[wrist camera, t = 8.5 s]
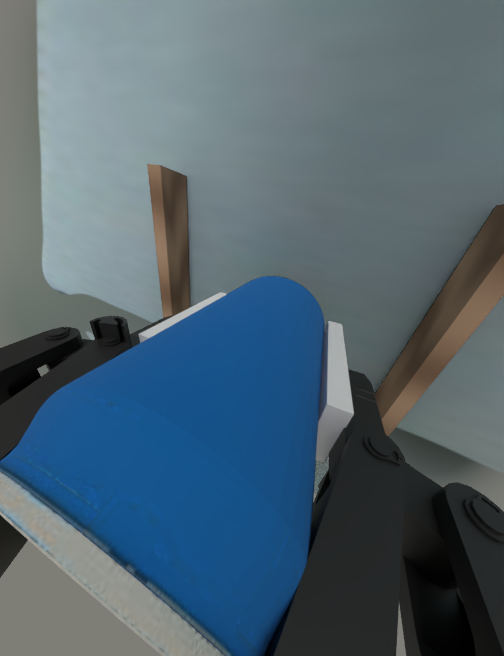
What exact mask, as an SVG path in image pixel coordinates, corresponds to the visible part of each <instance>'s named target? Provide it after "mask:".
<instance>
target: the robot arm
mask: <svg viewBox="0 0 504 656" xmlns="http://www.w3.org/2000/svg"><path fill="white" fill-rule="evenodd" d="M225 295H227V294H225V293H222V292H220V293H218V294H216V295H214V296H212V297H210V298H208V299H206V300H204V301H202V302H200V303H198V304H196V305H194V306H192V307H190V308H189V309H187V310H185V311H183V312H181V313H179V314H177V315H172V316H168V317H165V318H163V319H161V320H159V321H158V322H155V323H153V324H151V325H148V326H146V327H144V328H143V329H140V330H138V331H136V332H134V333H132V334H129V329H128V324H127V320H126V319H124V318H123V317H119V316H106V317H100V318H96V319H94V320H92V321H90V324H91V328H92V331H93V334H94V337H95V340H86V339H82V338H81V335H80V332H79V330H78V329H75V328H70V327H65V328H64V327H61V328H57V329H52V330H49V331H46V332H42V333H40V334H37V335H34V336H32V337H29V338H26V339H24V340H21V341H19V342H16V343H13V344H10V345H8V346H5V347H3V348H0V461H1V460H2V459H3V458H5V457H6V456H7V455H9V454H10V452H11V451H12V450H13V449H14V448H15V447H16V446H17V445H18V444H19V442H20V441H21V439H22V437H23V436H24V434H25V432H26V431H27V429H28V427H29V426H30V424H31V422H32V420H33V419H34V417H35V415H36V413H37V412H38V410H39V409H40V407H41V406H42V405H43V404H44V403H45V402H46V400H47V399H48V398H49V397H50V396H51V395H53V394H54V393H55V392H56V391H57V390H59V389H60V388H62V387H63V386H65V385H67V384H69V383H71V382H72V381H74V380H76V379H78V378H79V377H81V376H83V375H85V374H87V373H88V372H90V371H92V370H94V369H95V368H97V367H99V366H101V365H102V364H104V363H106V362H108V361H110V360H111V359H113V358H115V357H117V356H118V355H120V354H122V353H124V352H126V351H127V350H129V349H131V348H133V347H134V346H136V345H138V344H140V343H142V342H143V341H145V340H147V339H149V338H150V337H152V336H154V335H156V334H157V333H159V332H161V331H163V330H165V329H166V328H168V327H170V326H172V325H173V324H175V323H177V322H179V321H181V320H182V319H184V318H186V317H188V316H189V315H191V314H193V313H195V312H197V311H198V310H200V309H202V308H204V307H205V306H207V305H209V304H211V303H212V302H214V301H216V300H218V299H220V298H221V297H223V296H225ZM45 364H46V366H47V368H48V370H49V372H48V373H46V374H45V375H43V376H42V377H41V376H40V374H39V372H38V370H37V368H39V367H41V366H43V365H45ZM328 456H329V470H328V471H327V473H326V474H325V476H324V477H323V479H322V480H321V482H320V484H319V485H318V487H319V490H318V493H317V495H316V498H315V501H314V503H313V511H312V527H311V541H310V547H309V553H308V559H307V563H306V566H305V569H304V573H303V575H302V577H301V580H300V582H299V585H298V588H297V590H296V592H295V594H294V597H293V599H292V601H291V603H290V605H289V607H288V609H287V611H286V613H285V615H284V617H283V619H282V621H281V623H280V625H279V627H278V629H277V631H276V633H275V635H274V637H273V639H272V641H271V643H270V645H269V647H268V649H267V652H266V655H265V656H396V645H397V625H398V608H399V607H398V605H399V603H400V610H401V618H402V625H403V633H404V640H405V649H406V656H504V512H503V511H502V510H501V509H500V508H499V507H498V506H497V505H496V504H494V503H493V502H492V501H491V500H489V499H488V498H487V497H486V496H484V495H482V494H481V493H479V492H478V491H476V490H475V489H473V488H471V487H469V486H467V485H464V484H460V483H449V484H448V485H446V486H445V487H444V488H443V487H441V486H440V485H438V484H437V483H435V482H434V481H432V480H431V479H429V478H427V477H426V476H424V475H423V474H421V473H420V472H418V471H417V470H415V469H414V468H413V467H411V466H410V465H409V464H407V463H406V462H405V458H404V456H403V454H402V453H401V451H400V449H399V447H398V446H397V445H396V444H395V443H394V442H393V441H392V440H391V439H390V438H389V437H388V436H387V435H386V434H385V431H384V427H383V424H382V420H381V416H380V413H379V409H378V406H377V403H376V399H375V395H374V391H373V388H372V384H371V383H370V381H369V380H368V379H367V377H366V376H365V375H364V374H361V373H358V372H355V371H352V370H349V369H348V365H347V358H346V350H345V343H344V335H343V328H342V324H339V323H335V322H332V321H328V324H327V326H326V329H325V332H324V340H323V356H322V371H321V387H320V402H319V418H318V433H317V449H316V460H317V461H319V462H321V463H323V464H324V463H325V461H326V459H327V458H328ZM27 540H28V539H27V538H26V537H24V536H23V535H22V534H21V533H20V532H19V531H18V530H17V529H15V528H14V527H13V526H12V525H11V524H10V523H9V522H8V521H6V520H5V519H4V518H3V517H2V516H1V515H0V577H1V576H2V575H3V573H4V572H5V570H6V569H7V568H8V566H9V565H10V564H11V562H12V561H13V559H14V558H15V557H16V555H17V554H18V553H19V551H20V550H21V549H22V547H23V546H24V544H25V543H26V542H27Z"/></svg>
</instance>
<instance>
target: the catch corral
mask: <svg viewBox="0 0 504 656" xmlns="http://www.w3.org/2000/svg"><path fill="white" fill-rule="evenodd" d="M147 165H148V174H149V184H150V194H151V203H152V213H153V222H154V232H155V241H156V251H157V261H158V270H159V280H160V289H161V299H162V309H163V318H165V317H168V316H172V315H177V314H179V313H181V312H183V311H185V310H187V309H189V308H190V288H189V251H188V214H187V178H186V176H185V175H183V174H180V173H178V172H175V171H173V170H170V169H168V168H166V167H163V166H161V165H151V164H147ZM503 295H504V204H503V205H497V206H496V207H495V208H494V210H493V211H492V213H491V215H490V216H489V218H488V219H487V221H486V222H485V224H484V225H483V227H482V229H481V230H480V232H479V233H478V235H477V236H476V238H475V239H474V241H473V243H472V244H471V246H470V247H469V249H468V250H467V252H466V253H465V255H464V257H463V258H462V260H461V261H460V263H459V264H458V266H457V267H456V269H455V271H454V272H453V274H452V275H451V277H450V278H449V280H448V281H447V283H446V285H445V286H444V288H443V289H442V291H441V292H440V294H439V295H438V297H437V299H436V300H435V302H434V303H433V305H432V306H431V308H430V309H429V311H428V313H427V314H426V316H425V317H424V319H423V320H422V322H421V323H420V325H419V327H418V328H417V330H416V331H415V333H414V334H413V336H412V337H411V339H410V341H409V342H408V344H407V345H406V347H405V348H404V350H403V351H402V353H401V355H400V356H399V358H398V359H397V361H396V362H395V364H394V365H393V367H392V369H391V370H390V372H389V373H388V375H387V376H386V378H385V379H384V381H383V383H382V384H381V386H380V387H379V389H378V390H377V392H376V393H375V399H376V403H377V406H378V409H379V413H380V416H381V420H382V424H383V427H384V431H385V434H386V435H387V436H389V435H390V433H391V432H392V431H393V430H394V429H395V427H396V426H397V425H398V424H399V422H400V421H401V420H402V419H403V418H404V416H405V415H406V414H407V413H408V411H409V410H410V409H411V408H412V407H413V405H414V404H415V403H416V402H417V400H418V399H419V398H420V397H421V396H422V394H423V393H424V392H425V391H426V389H427V388H428V387H429V386H430V385H431V383H432V382H433V381H434V380H435V378H436V377H437V376H438V375H439V374H440V372H441V371H442V370H443V369H444V367H445V366H446V365H447V364H448V363H449V361H450V360H451V359H452V358H453V356H454V355H455V354H456V353H457V352H458V350H459V349H460V348H461V347H462V345H463V344H464V343H465V342H466V340H467V339H468V338H469V337H470V336H471V334H472V333H473V332H474V331H475V329H476V328H477V327H478V326H479V325H480V323H481V322H482V321H483V320H484V318H485V317H486V316H487V315H488V314H489V312H490V311H491V310H492V309H493V307H494V306H495V305H496V304H497V303H498V301H499V300H500V299H501V298H502V296H503Z"/></svg>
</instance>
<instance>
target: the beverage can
mask: <svg viewBox="0 0 504 656" xmlns="http://www.w3.org/2000/svg"><path fill="white" fill-rule="evenodd" d="M323 340H324V318H323V314H322V311H321V308H320V306H319V304H318V302H317V301H316V299H315V298H314V296H313V295H312V294H311V293H310V292H309V291H308V290H307V289H305V288H304V287H303V286H301V285H300V284H298V283H297V282H294V281H292V280H290V279H287V278H283V277H277V276H267V277H261V278H257V279H254V280H252V281H250V282H248V283H246V284H244V285H243V286H241V287H239V288H237V289H236V290H234V291H232V292H230V293H228V294H227V295H225V296H223V297H221V298H220V299H218V300H216V301H214V302H212V303H211V304H209V305H207V306H205V307H204V308H202V309H200V310H198V311H197V312H195V313H193V314H191V315H189V316H188V317H186V318H184V319H182V320H181V321H179V322H177V323H175V324H173V325H172V326H170V327H168V328H166V329H165V330H163V331H161V332H159V333H157V334H156V335H154V336H152V337H150V338H149V339H147V340H145V341H143V342H142V343H140V344H138V345H136V346H134V347H133V348H131V349H129V350H127V351H126V352H124V353H122V354H120V355H118V356H117V357H115V358H113V359H111V360H110V361H108V362H106V363H104V364H102V365H101V366H99V367H97V368H95V369H94V370H92V371H90V372H88V373H87V374H85V375H83V376H81V377H79V378H78V379H76V380H74V381H72V382H71V383H69V384H67V385H65V386H63V387H62V388H60V389H59V390H57V391H56V392H55V393H54V394H53V395H51V396H50V397H49V398H48V399H47V400H46V402H45V403H44V404H43V405H42V406H41V407H40V409H39V410H38V412H37V413H36V415H35V417H34V419H33V420H32V422H31V424H30V426H29V427H28V429H27V431H26V432H25V434H24V436H23V437H22V439H21V441H20V442H19V444H18V445H17V446H16V447H15V448H14V449H13V450H12V451H11V452H10V454H9V455H7V456H6V457H5V458H3V459H2V460H1V461H0V515H1V516H2V517H3V518H4V519H5V520H6V521H8V522H9V523H10V524H11V525H12V526H13V527H14V528H15V529H17V530H18V531H19V532H20V533H21V534H22V535H23V536H24V537H26V538H27V539H28V540H29V541H30V542H31V543H32V544H33V545H35V546H36V547H37V548H38V549H39V550H40V551H41V552H43V553H44V554H45V555H46V556H47V557H48V558H49V559H50V560H52V561H53V562H54V563H55V564H56V565H57V566H59V567H60V568H61V569H62V570H63V571H64V572H65V573H67V574H68V575H69V576H70V577H71V578H72V579H73V580H75V581H76V582H77V583H78V584H79V585H80V586H81V587H83V588H84V589H85V590H86V591H87V592H88V593H90V594H91V595H92V596H93V597H94V598H95V599H97V600H98V601H99V602H100V603H101V604H102V605H104V606H105V607H106V608H107V609H108V610H109V611H111V612H112V613H113V614H114V615H115V616H116V617H118V618H119V619H120V620H121V621H122V622H123V623H125V624H126V625H127V626H128V627H129V628H130V629H132V630H133V631H134V632H135V633H136V634H137V635H139V636H140V637H141V638H142V639H143V640H145V641H146V642H147V643H148V644H149V645H150V646H152V647H153V648H154V649H155V650H156V651H158V652H159V653H160V654H161V655H162V656H265V655H266V652H267V649H268V647H269V645H270V643H271V641H272V639H273V637H274V635H275V633H276V631H277V629H278V627H279V625H280V623H281V621H282V619H283V617H284V615H285V613H286V611H287V609H288V607H289V605H290V603H291V601H292V599H293V597H294V594H295V592H296V590H297V588H298V585H299V582H300V580H301V577H302V575H303V573H304V569H305V566H306V563H307V559H308V553H309V547H310V541H311V527H312V511H313V495H314V480H315V464H316V449H317V433H318V418H319V402H320V387H321V371H322V356H323Z"/></svg>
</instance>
